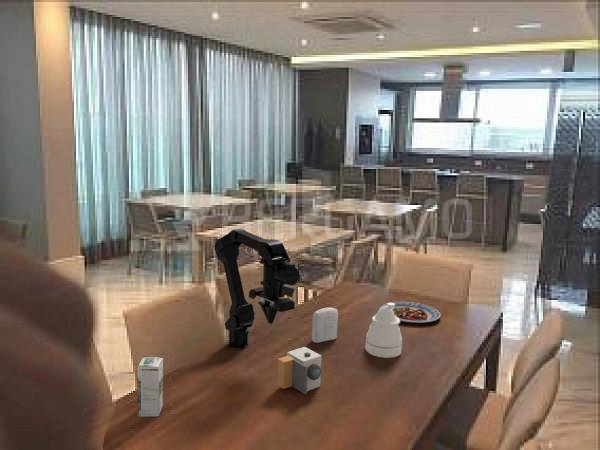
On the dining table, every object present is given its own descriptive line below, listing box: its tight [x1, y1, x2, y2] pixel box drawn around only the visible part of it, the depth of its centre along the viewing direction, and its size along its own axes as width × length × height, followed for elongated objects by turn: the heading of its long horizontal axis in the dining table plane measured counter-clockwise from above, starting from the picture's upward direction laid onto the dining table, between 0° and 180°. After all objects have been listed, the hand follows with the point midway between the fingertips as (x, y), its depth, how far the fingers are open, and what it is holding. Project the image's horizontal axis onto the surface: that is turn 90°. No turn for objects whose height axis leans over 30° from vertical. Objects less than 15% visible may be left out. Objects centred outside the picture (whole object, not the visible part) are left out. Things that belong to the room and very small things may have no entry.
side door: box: [277, 355, 308, 395], centre depth 148 cm, size 9×4×8 cm, turn 39°
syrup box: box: [136, 356, 164, 418], centre depth 135 cm, size 6×6×14 cm
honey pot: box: [365, 302, 403, 359], centre depth 180 cm, size 13×13×18 cm
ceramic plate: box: [379, 301, 441, 324], centre depth 219 cm, size 26×26×3 cm
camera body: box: [286, 346, 322, 392], centre depth 153 cm, size 10×7×11 cm
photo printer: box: [311, 307, 339, 344], centre depth 188 cm, size 10×4×12 cm, turn 123°
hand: (270, 323), depth 168 cm, fingers closed
